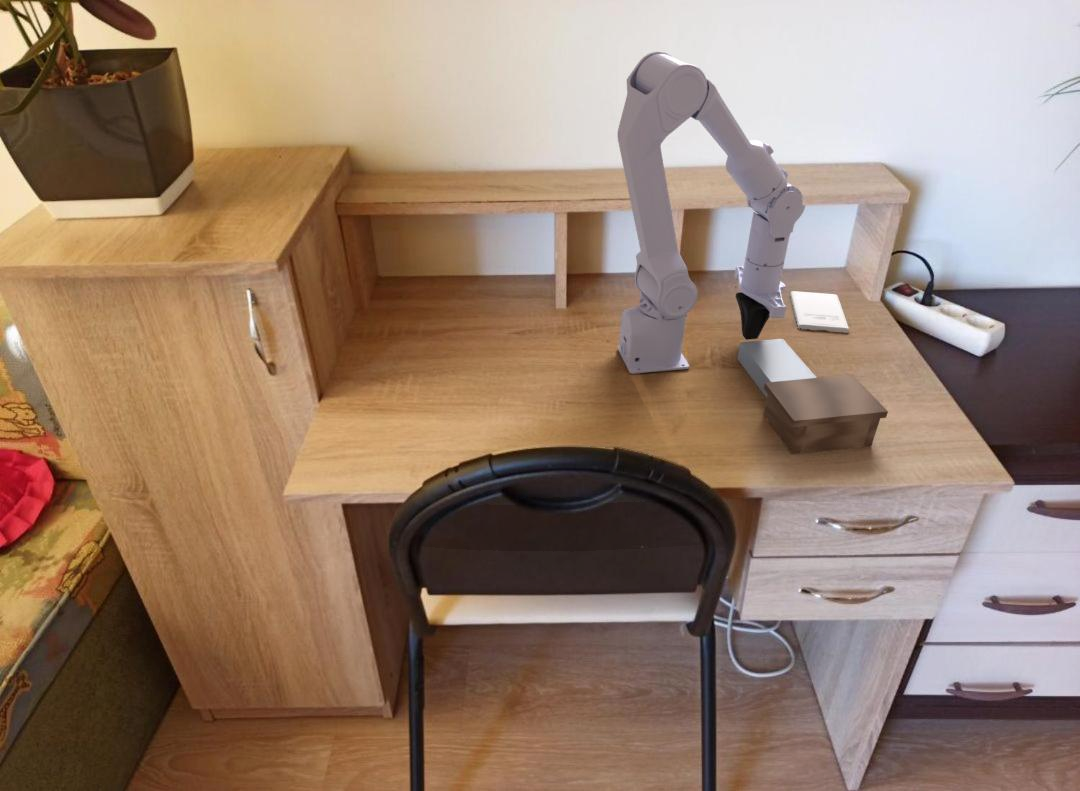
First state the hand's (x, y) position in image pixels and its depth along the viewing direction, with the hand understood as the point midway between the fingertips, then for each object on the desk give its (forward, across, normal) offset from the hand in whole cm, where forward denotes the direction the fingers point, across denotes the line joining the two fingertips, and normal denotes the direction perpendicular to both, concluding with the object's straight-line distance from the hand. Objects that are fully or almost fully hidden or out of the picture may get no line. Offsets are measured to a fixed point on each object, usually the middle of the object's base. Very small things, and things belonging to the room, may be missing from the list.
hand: (750, 337), depth 122 cm
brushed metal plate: (+1, -11, 0) cm, 11 cm away
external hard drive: (+2, +8, -16) cm, 18 cm away
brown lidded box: (+1, -23, 0) cm, 23 cm away
